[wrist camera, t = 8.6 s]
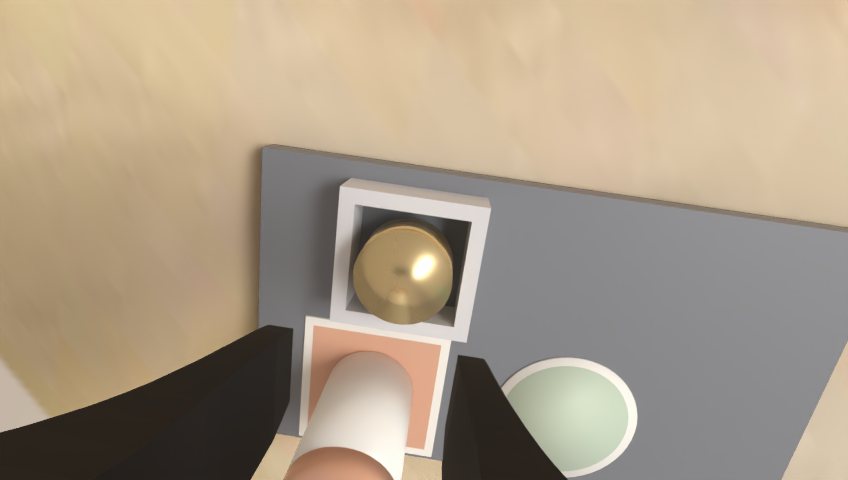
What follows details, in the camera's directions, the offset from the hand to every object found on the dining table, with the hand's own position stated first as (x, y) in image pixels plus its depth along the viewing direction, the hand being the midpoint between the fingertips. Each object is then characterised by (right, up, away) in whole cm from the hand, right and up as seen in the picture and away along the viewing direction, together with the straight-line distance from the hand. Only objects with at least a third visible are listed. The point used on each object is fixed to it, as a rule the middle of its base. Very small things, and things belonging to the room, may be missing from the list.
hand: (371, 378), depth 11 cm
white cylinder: (-1, -4, +11) cm, 11 cm away
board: (+6, -1, +11) cm, 12 cm away
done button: (+1, +2, +8) cm, 8 cm away
